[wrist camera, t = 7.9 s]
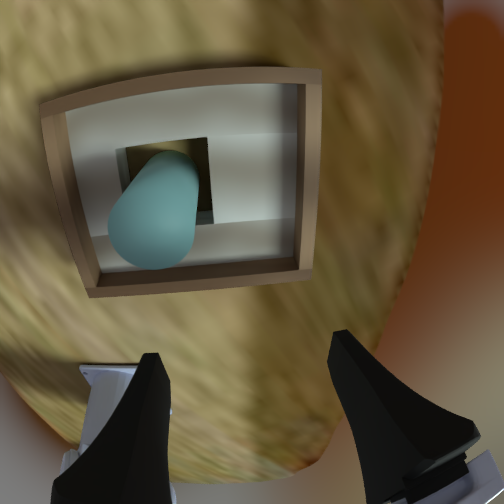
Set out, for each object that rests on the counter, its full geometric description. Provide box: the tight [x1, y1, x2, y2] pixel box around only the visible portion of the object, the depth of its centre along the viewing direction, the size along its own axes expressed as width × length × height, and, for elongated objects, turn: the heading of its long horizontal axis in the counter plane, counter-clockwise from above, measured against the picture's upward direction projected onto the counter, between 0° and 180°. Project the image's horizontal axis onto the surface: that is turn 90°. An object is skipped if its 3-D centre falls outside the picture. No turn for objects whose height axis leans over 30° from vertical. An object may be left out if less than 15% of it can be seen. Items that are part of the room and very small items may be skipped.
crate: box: [39, 67, 322, 298], centre depth 16 cm, size 12×14×4 cm
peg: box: [108, 151, 200, 270], centre depth 14 cm, size 4×4×7 cm
